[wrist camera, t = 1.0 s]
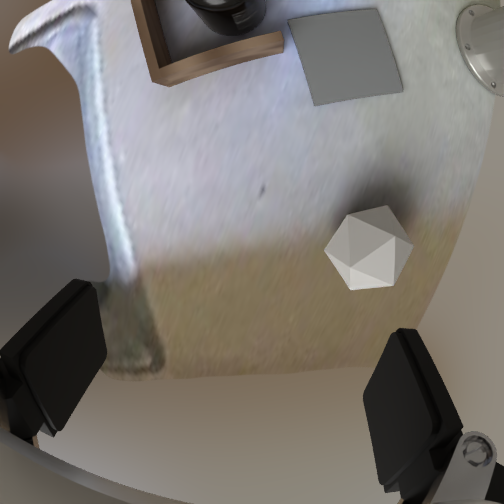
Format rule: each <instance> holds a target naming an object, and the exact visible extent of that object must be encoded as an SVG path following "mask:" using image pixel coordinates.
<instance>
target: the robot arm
mask: <svg viewBox="0 0 504 504" xmlns="http://www.w3.org/2000/svg"><path fill="white" fill-rule="evenodd" d="M456 34H457V41H458V45H459V48H460V51H461V54H462V56H463V59H464V61H465V63H466V64H467V66H468V68H469V70H470V71H471V72H472V74H473V75H474V77H475V78H476V79H477V80H478V81H479V82H480V84H482V85H483V86H484V87H485V88H486V89H487V90H489V91H490V92H492V93H494V94H496V95H499V96H504V6H503V7H500V8H497V9H495V10H494V9H492V8H490V7H488V6H485V5H472V6H469V7H467V8H465V9H464V10H463V11H462V12H461V13H460V15H459V17H458V20H457V24H456ZM0 356H1V358H0V504H191V503H187V502H182V501H178V500H173V499H169V498H165V497H161V496H158V495H154V494H151V493H147V492H144V491H140V490H137V489H134V488H131V487H128V486H125V485H122V484H119V483H116V482H113V481H110V480H108V479H105V478H102V477H100V476H97V475H95V474H92V473H90V472H87V471H85V470H82V469H80V468H78V467H76V466H73V465H71V464H69V463H67V462H65V461H63V460H60V459H58V458H56V457H54V456H52V455H50V454H48V453H46V452H44V451H42V450H40V448H39V444H38V439H37V433H38V431H39V430H40V431H42V432H44V433H46V434H48V435H50V436H52V437H54V436H55V434H56V433H57V431H61V430H62V429H63V428H64V426H65V424H66V423H67V421H68V419H69V418H70V416H71V414H72V413H73V411H74V409H75V408H76V406H77V404H78V403H79V401H80V399H81V398H82V396H83V395H84V393H85V391H86V389H87V388H88V386H89V385H90V383H91V382H92V380H93V378H94V377H95V375H96V374H97V372H98V370H99V369H100V367H101V366H102V364H103V363H104V361H105V359H106V356H107V348H106V344H105V339H104V334H103V328H102V323H101V317H100V311H99V305H98V299H97V292H96V289H95V288H94V287H93V286H92V284H91V283H90V282H88V281H84V280H80V279H73V280H72V281H71V282H70V283H68V284H67V285H66V286H65V287H64V288H63V289H62V290H61V291H60V292H58V293H57V294H56V295H55V296H54V297H53V298H52V299H51V300H50V301H49V302H48V303H47V304H46V305H45V306H44V307H42V308H41V309H40V310H39V311H38V312H37V313H36V314H35V315H34V316H33V317H32V318H31V319H30V320H29V321H28V322H27V323H26V324H25V325H24V326H23V327H22V328H21V329H20V330H19V331H18V332H17V333H16V334H15V335H14V336H13V337H12V338H11V339H10V340H9V341H8V342H7V343H6V344H5V345H4V346H3V347H2V349H1V350H0ZM363 402H364V406H365V411H366V416H367V421H368V426H369V431H370V436H371V441H372V446H373V452H374V457H375V463H376V468H377V474H378V480H379V483H380V484H381V485H384V491H385V493H388V492H396V491H400V495H401V499H400V500H399V502H398V503H397V504H504V466H502V465H500V464H499V463H497V462H496V458H497V452H496V448H495V445H494V443H493V442H492V441H491V439H490V438H489V437H488V436H486V435H485V434H483V433H480V432H476V431H471V432H467V433H465V434H464V435H463V433H462V431H461V429H462V428H463V424H462V422H461V420H460V418H459V415H458V413H457V410H456V408H455V406H454V404H453V402H452V399H451V397H450V395H449V393H448V391H447V389H446V386H445V385H444V382H443V380H442V378H441V376H440V374H439V372H438V370H437V368H436V366H435V364H434V362H433V360H432V358H431V356H430V354H429V352H428V350H427V348H426V346H425V345H424V343H423V341H422V339H421V337H420V335H419V334H418V332H417V330H415V329H406V328H399V329H398V330H397V331H396V332H393V333H392V334H391V335H390V337H389V340H388V342H387V344H386V347H385V349H384V351H383V353H382V355H381V358H380V360H379V362H378V364H377V366H376V368H375V370H374V372H373V374H372V377H371V378H370V380H369V383H368V385H367V386H366V389H365V390H364V394H363Z"/></svg>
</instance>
